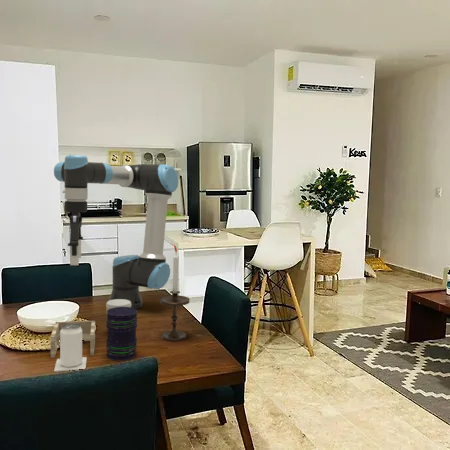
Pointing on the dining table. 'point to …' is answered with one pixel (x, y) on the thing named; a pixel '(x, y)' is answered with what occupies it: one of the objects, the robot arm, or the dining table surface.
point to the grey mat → (61, 368)
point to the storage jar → (121, 333)
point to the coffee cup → (117, 303)
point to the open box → (87, 334)
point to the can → (71, 345)
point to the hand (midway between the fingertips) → (75, 261)
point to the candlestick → (174, 304)
